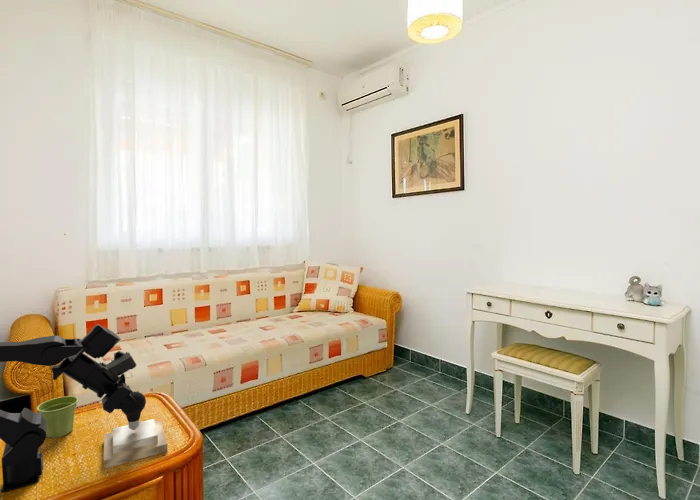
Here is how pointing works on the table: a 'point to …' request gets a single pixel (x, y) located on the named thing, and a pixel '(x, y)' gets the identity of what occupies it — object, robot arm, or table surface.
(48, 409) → the plant pot
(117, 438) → the stepped stand
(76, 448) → the table surface
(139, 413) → the light bulb
